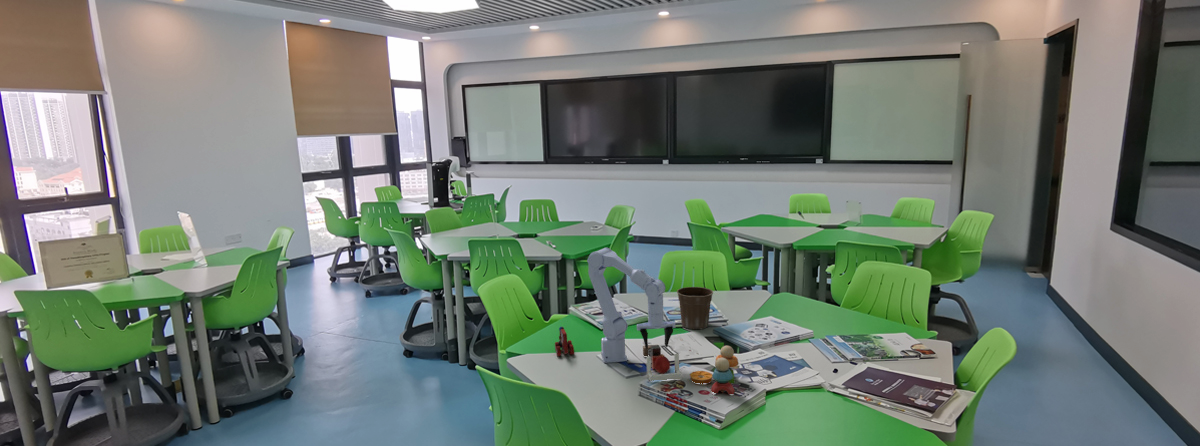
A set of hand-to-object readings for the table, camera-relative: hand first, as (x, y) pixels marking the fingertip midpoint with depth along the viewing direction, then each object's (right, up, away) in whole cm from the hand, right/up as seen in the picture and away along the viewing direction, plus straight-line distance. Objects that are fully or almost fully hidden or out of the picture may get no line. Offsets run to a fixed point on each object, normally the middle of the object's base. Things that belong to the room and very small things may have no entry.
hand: (656, 346), depth 224 cm
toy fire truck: (-36, -7, +19) cm, 41 cm away
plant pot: (+22, 0, +45) cm, 50 cm away
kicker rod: (0, -7, +7) cm, 10 cm away
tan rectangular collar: (-1, -6, +11) cm, 13 cm away
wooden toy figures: (+19, -10, -17) cm, 28 cm away
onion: (+2, -9, -7) cm, 11 cm away
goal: (+2, -9, -10) cm, 14 cm away
